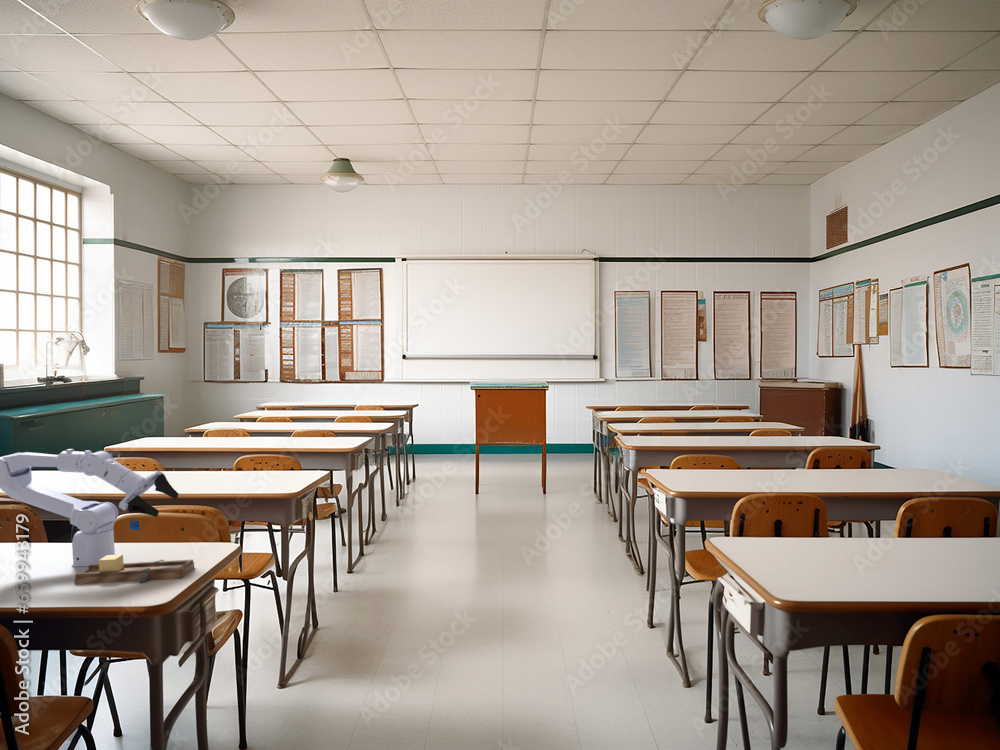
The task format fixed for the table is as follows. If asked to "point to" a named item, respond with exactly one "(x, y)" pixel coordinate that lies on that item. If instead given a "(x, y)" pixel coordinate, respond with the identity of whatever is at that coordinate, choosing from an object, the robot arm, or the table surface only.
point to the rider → (111, 563)
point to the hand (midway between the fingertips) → (167, 505)
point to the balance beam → (137, 572)
